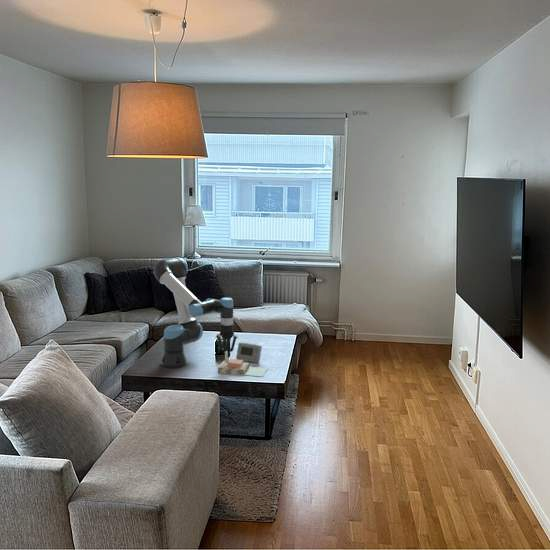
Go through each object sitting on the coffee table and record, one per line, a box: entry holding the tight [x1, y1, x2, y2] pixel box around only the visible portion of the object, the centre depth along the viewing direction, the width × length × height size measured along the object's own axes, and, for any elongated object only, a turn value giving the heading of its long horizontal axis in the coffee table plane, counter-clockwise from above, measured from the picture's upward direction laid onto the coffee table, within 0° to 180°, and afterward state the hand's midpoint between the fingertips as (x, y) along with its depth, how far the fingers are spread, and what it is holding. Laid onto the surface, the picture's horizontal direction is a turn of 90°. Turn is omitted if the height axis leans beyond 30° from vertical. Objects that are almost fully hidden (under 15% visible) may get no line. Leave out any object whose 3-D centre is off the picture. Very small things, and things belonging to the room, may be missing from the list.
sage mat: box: [244, 366, 269, 378], centre depth 323 cm, size 11×14×1 cm
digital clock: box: [235, 342, 263, 364], centre depth 342 cm, size 16×9×11 cm, turn 55°
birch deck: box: [217, 360, 250, 376], centre depth 325 cm, size 16×12×3 cm
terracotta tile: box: [227, 358, 244, 368], centre depth 324 cm, size 8×7×2 cm
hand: (226, 362), depth 325 cm, fingers closed
